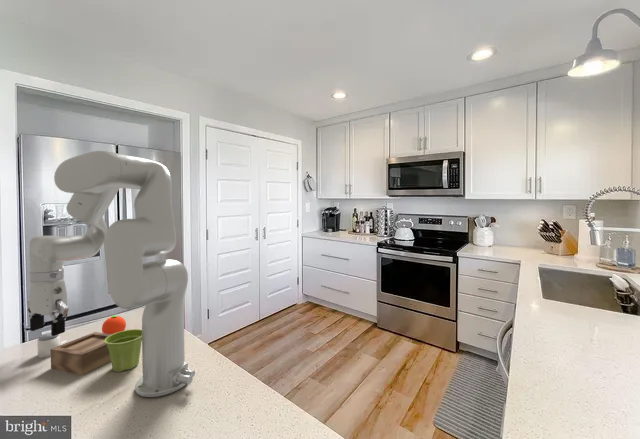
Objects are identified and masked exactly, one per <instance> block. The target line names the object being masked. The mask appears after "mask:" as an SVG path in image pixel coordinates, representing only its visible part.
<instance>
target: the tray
mask: <svg viewBox="0 0 640 439" xmlns="http://www.w3.org/2000/svg"><path fill="white" fill-rule="evenodd" d="M110 335H112V334H106V333H103V332H99V331H98V332H97V331H94V332H91V333H90V334H86V335H84V336H81V337H78V338H75V339H73V340H70V341H68V342H66V343H63V344H60V346H57V347H55V348H52V349H51V356H50V369H51V370H54V371H55V370H56V371H60V372H65V373H70V374H75V375H79V376H83V375H86V374H88V373H90V372H92V371H93V370H96V369H98V368H99V367H101V366H102V367H103V365H105V364H108V363H110V362H111V358H110V353H109V349H108V347H107V344H105V342H104V340H105V339H106V338H107V337H108V336H110Z"/></svg>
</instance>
